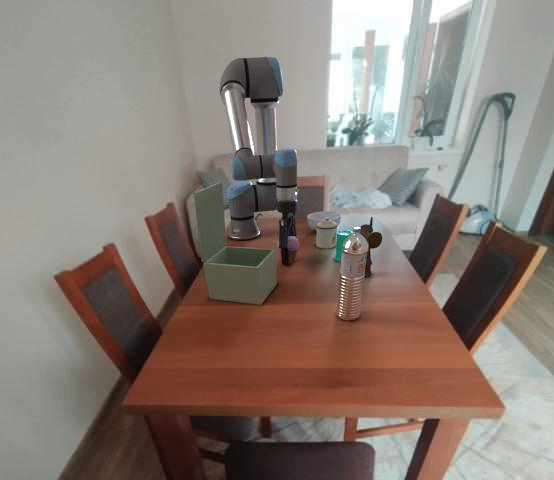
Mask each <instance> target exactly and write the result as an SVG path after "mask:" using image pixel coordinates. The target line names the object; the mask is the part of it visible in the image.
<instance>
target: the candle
mask: <svg viewBox="0 0 554 480" xmlns="http://www.w3.org/2000/svg"><path fill="white" fill-rule="evenodd" d="M352 234H353V230H346V229H345V230H337V231H336V245H335V255H334V256H335V258H334V259H335V261H337V262H339V263H341V256H342V250H341V249H342V244H343V242H344V241H345V240H346V238H348V237H349V236H350V235H352Z"/></svg>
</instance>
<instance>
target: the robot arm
mask: <svg viewBox="0 0 554 480" xmlns="http://www.w3.org/2000/svg"><path fill="white" fill-rule="evenodd" d="M283 94H284V80H283V72H282V68H281V64H280V62H279V60H278V59H277V58H276V57H273V56H260V57H259V56H258V57H257V56H255V57H238V58H235V59H233V60H232V61H230V62H229V63H228V65H226V67H225V69H224V70H223V72H222V75H221V77H220V82H219V96H220V100H221V103H222V104H223V105H224V107H225V113H226V119H227V124H228V131H229V135H230V141H231V146H232V152H233V156H232V157H231V158H230V159H229V163H230V172H231V177H232V179H233V180H234V181H237V182H236V183H233V184H231V185H229V186H228V187H227V191H226V192H227V200H228V207H229V208H228V209H229V216H230V223H229V229H228V238H229V239H231V240H233V241H249V240H250V241H251V240H253V239H257V238H259V237H260V234H261V233H260V229H259V226H258V222H257V221H256V220H257V219H258V218H259V217H260V216H261V217H262V216H263V214H262V213H263V212H274V211H277V212H278V213H281V218H280V219H279V220H278V226H279V227H278V229H279V230H278V232H279V233H278V241H279V249H281V254H280V259H281V260H280V261H281V265H282V266H289V264H290V263H289V259H288V248H287V245H288V236H294V237H296V238H297V239H298V236H297V222H296V212H297V211H298V200H297V198H298V193H299V191H300V190H299V189H298V153H297V150H296V149H295V148H279V149H278V148H277V147H278V145H277V142H278V141H277V117H276V116H277V114H276V111H277V110H276V108H277V106H278V105H279V103H280V98H281V97H282V96H283ZM246 99H249V101H250V105H251V106H252V108H253V109H254V119H255V133H256V134H255V136H256V151H257V154H255V150H254V144H253V140H252V134H251V129H250V123H249V119H248V114H247V108H246V104H245V101H246ZM251 180H255V184H253V183H252V181H251ZM255 213H258V214H257V215H256V216H255ZM279 249H278V250H279Z"/></svg>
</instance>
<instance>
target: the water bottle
mask: <svg viewBox="0 0 554 480" xmlns="http://www.w3.org/2000/svg"><path fill="white" fill-rule="evenodd" d="M360 230H361V228H360V226H354V227H352V235H350V236H349V237H348V238H346V240H345V241H344V242H343V244H342V249H341V250H342V256H341V262H340V269H339V270H340V271H339V277H338V289H337V301H336V316H337V317H338V319H340V320H343V321H348V322H349V321H354V320H357V319H358V318H359V317H360V315H361V309H362V300H363V292H364V286H365V285H364V284H365V267H366V259H367V252H368V247H369V245H368V243H367V241H366V239H365V238H364V237H363V236H362V235H361V234H360Z"/></svg>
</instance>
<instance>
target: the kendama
mask: <svg viewBox="0 0 554 480" xmlns="http://www.w3.org/2000/svg"><path fill="white" fill-rule="evenodd" d="M373 222H374V217H373V216H371V217H370V220H369V223H364V224H362V225H360V226H359V227H360V228H361V230H360V234H361V235H362V236H363V237H364V238H365V239H366V241H367V243H368V245H369V247H368V252H367V259H366V267H365V277H366V278H367V277H370V276H372V275H373V271H372V269H371V267H372V266H373V261H372V257H371V256H372V255H371V249H373V250H374V249H377V248H379V247H380V246H381V244H382V243H383V234H382V233H381V232H379V231H374V227H373V224H374V223H373ZM365 277H364V278H365Z"/></svg>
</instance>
